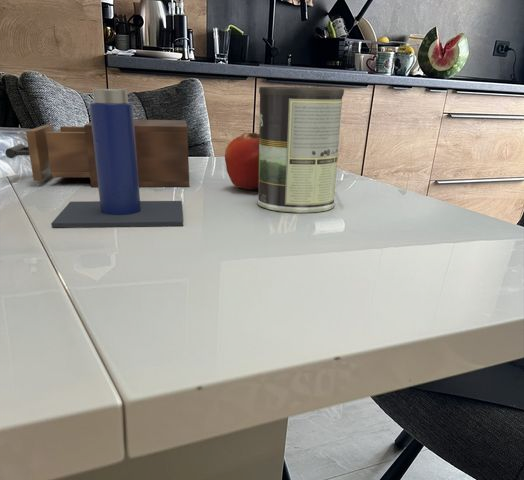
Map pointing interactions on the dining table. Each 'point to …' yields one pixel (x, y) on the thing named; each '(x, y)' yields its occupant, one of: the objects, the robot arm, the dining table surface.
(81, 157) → the drawer
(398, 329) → the dining table surface
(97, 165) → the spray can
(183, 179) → the cabinet
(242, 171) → the tomato
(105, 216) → the mat
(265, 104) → the coffee can
